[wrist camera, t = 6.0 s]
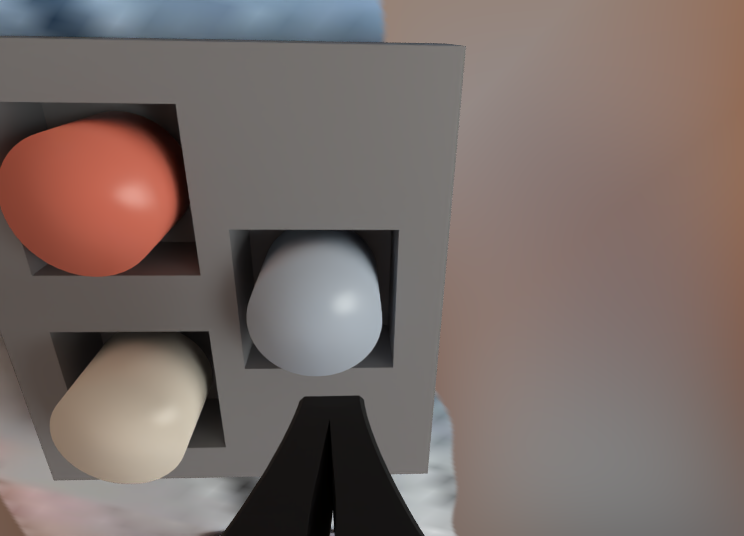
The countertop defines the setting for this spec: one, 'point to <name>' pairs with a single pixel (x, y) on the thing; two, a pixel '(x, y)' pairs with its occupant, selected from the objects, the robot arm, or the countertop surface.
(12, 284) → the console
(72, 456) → the button ivory
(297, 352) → the button slate
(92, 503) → the countertop surface
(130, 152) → the button red
